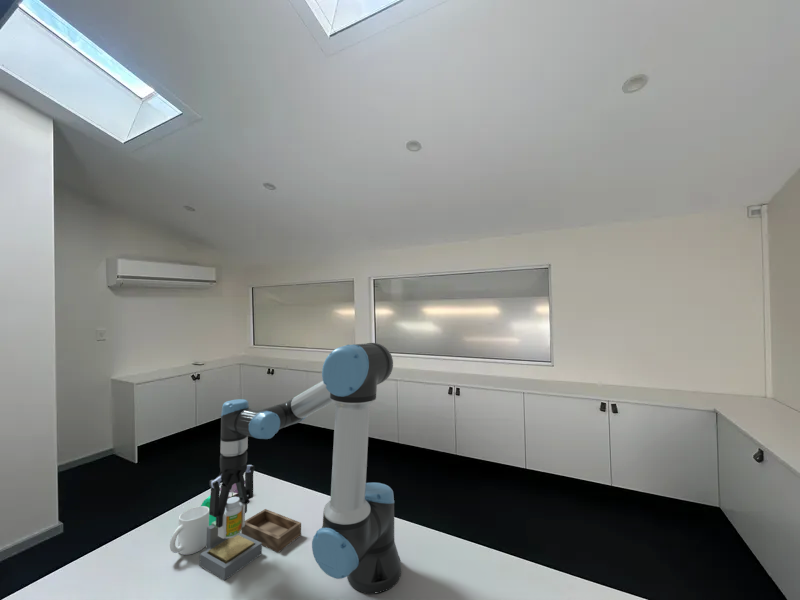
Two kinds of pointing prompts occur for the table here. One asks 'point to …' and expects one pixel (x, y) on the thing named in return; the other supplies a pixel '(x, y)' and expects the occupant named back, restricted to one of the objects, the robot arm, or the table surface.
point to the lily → (233, 489)
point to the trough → (272, 529)
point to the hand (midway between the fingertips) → (231, 530)
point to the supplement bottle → (233, 517)
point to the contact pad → (231, 548)
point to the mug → (191, 531)
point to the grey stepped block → (235, 564)
